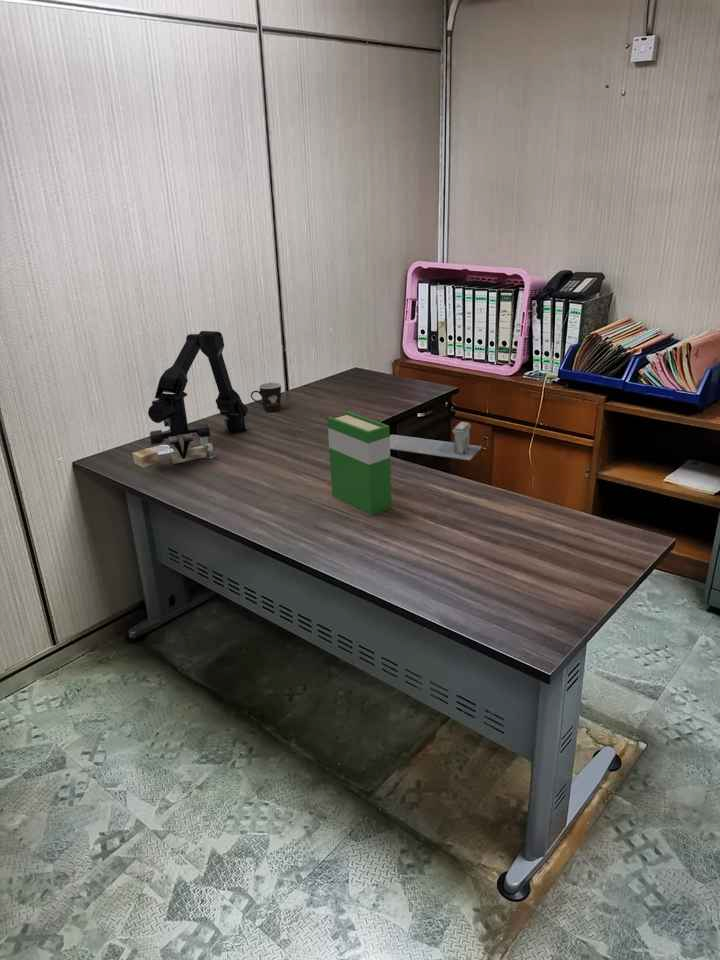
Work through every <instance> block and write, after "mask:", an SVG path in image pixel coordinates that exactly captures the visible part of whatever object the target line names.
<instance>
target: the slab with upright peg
mask: <svg viewBox="0 0 720 960" xmlns="http://www.w3.org/2000/svg"><path fill="white" fill-rule="evenodd" d="M471 427H472V424H471V422H466V421H460V422H459V423H458V424H457V425H456V426H455V427H454V428H453V429H452V433H453V442H451V441H444V440H435V439H431V438H429V439H428V438H423V437H422V438H421V437H414V436H408V435H407V436H405V435H398V434H390V450H393V451H402V452H406V453H413V454H420V455H421V454H422V455H428V456H436V457H443V458H449V459H450V458H451V459H456V460H463V461H471V460H472V459H473V457H474V456H476V454H477V453H478V452H479V451H480V450H481V449H482V445H473V444H470V431H471V429H470V428H471Z"/></svg>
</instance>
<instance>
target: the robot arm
mask: <svg viewBox="0 0 720 960" xmlns="http://www.w3.org/2000/svg"><path fill="white" fill-rule="evenodd" d="M224 348H225V342H224V336H223V334H222V333H221V332H220V331H217V330H216V331H215V330H213V331H212V330H201V331H200V332H199V333H190V334H187V336H186V338H185V343H184V344H183V346H182V348H181V350H180V352H179V353H178V356H177V357H176V359H175V361H174V363H173V364H172V366H171V367H169V368H167V369H166V370H165V371H164V372H163V374H162V375H161V376H160V378H159V381H158V384H157V388H156V391H155V396H154V398H155V400H152V401H151V405H150V406H149V407H148V412H147V414H148V417H149V418H150V420H151V421H152V422H154V423H156V424H160V423H162V422H163V423H164V427H165V428H167V427H169V432H168V431H167V432H163V430H162V429H158V430H152V431H150V432H149V438H150V445H158V444H162V443H163V442H164V440H165V439H168V442H169V444H170V445H173V446H174V447H175V448H176V451H179V453H180V455H181V457H182V459H185V457H186V453H187V449H188V448H189V446H190V444H191V443H192V442H193V441H194V439H193V436H195V435H197V436H198V437H199V438H200V437H201V438H202V437H211V432H210V431H211V430H210V427H209V425H208V424H207V423H202V424H196V425H195V428H189V425H188V419H187V418H188V417H187V412H186V411H187V410H186V405H185V397H187V396H188V393H186V392H185V389H186V386H187V383H188V381H189V380H188V376H187V375H188V372H189V371H190V368H191V366H192V365H193V363H194V361H195V359H196V358H197V355H198V353H199V351H201V353H203V354H204V355H205V356H206V357H207V358H208V362H209V365H210V368H211V372H212V374H213V378H214V380H215V381H214V382H215V384H216V388H217V390H218V395H217V398H216V399H215V404H216V408H217V409H218V410H219V412H220V416H224V418H225V419H224V421H223V422H224V430H225V431H226V432H228V433H229V434H230V435H233V434H238V433H243V432H246V431H248V428H246V422H245V417H246V416H247V414H248V408H249V407H248V406H247V405H246V404H245V403H243V401H242V399H241V397H240V394H238V392H237V391H236V390H235V389H234V388H233V386H232V382H231V379H230V376H229V373H228V369H227V366H226V365H227V364H226V363H225V359H224V356H223V352H224ZM181 437H182V447H181V443H180V439H179V438H181ZM182 450H183V452H182ZM183 456H184V457H183Z"/></svg>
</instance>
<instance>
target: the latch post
mask: <svg viewBox="0 0 720 960" xmlns="http://www.w3.org/2000/svg"><path fill="white" fill-rule="evenodd" d="M199 439H200V441H199V443H200V446H203V445H204V447H205V444H207V443H209V438H208V437H202V438H201V437H199Z"/></svg>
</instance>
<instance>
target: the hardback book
mask: <svg viewBox="0 0 720 960" xmlns="http://www.w3.org/2000/svg"><path fill="white" fill-rule="evenodd" d="M326 421H327V434H328V451H329V467H330V481H331V482H330V483H331V495H332V497H335V498H336V499H338V500H339V501H342V502H344V503H346V504H347V505H350V506H352V507H354V508H356V509H358V510H360V511H362V512H364V513H365V514H367V515H369V516H373V515H376V514H378V513H381V512H383V511H386V510H389V509H391V508H392V479H391V478H392V477H391V475H392V474H391V473H392V472H391V471H392V470H391V449H390V435H391V434H390V425H388V424H385V423H382V422H379V421H376V420H373V419H370V418H369V417H365V416H362V415H359V414H357V413H354V412H351V411H345V414H344V415H342V416H339V417H332V416H327V420H326Z"/></svg>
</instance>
